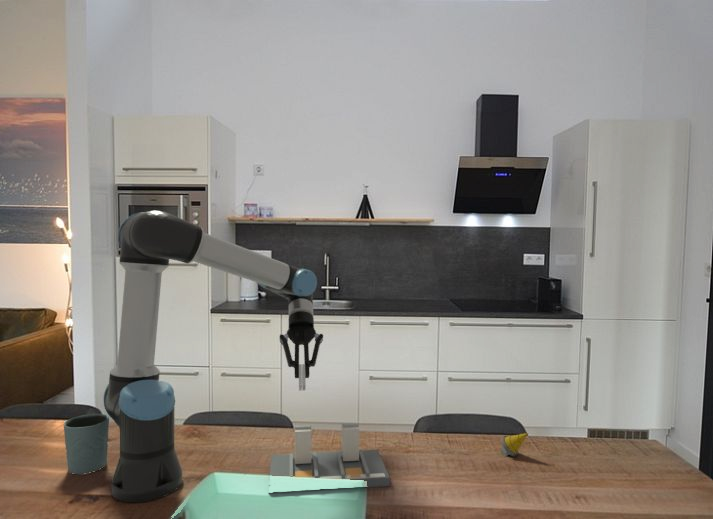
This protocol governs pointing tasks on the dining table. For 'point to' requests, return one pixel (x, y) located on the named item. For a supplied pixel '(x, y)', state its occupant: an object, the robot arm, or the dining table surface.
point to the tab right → (350, 442)
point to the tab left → (302, 444)
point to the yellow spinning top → (512, 444)
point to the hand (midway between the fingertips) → (302, 387)
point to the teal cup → (86, 442)
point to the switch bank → (334, 467)
